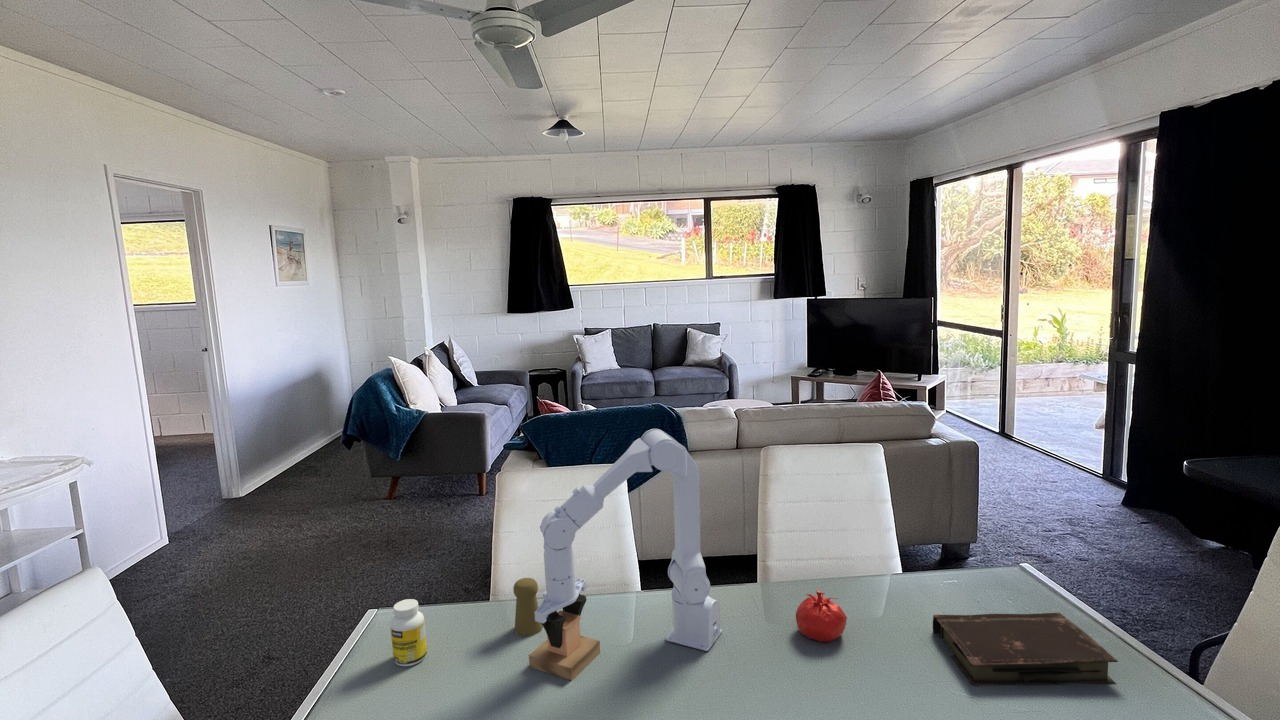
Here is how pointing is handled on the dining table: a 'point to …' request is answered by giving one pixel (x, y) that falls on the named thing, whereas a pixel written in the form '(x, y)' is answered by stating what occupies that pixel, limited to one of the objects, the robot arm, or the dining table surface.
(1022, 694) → the dining table surface
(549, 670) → the walnut block
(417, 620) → the pill bottle
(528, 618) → the olive pawn
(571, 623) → the square wooden stamp
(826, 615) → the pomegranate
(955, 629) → the diary
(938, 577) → the dining table surface
